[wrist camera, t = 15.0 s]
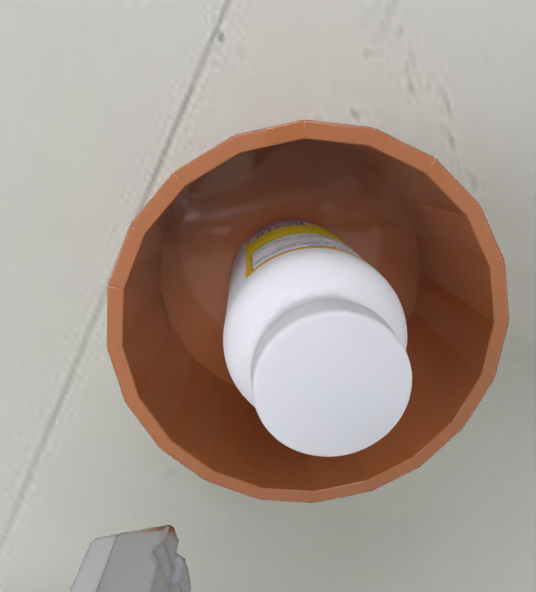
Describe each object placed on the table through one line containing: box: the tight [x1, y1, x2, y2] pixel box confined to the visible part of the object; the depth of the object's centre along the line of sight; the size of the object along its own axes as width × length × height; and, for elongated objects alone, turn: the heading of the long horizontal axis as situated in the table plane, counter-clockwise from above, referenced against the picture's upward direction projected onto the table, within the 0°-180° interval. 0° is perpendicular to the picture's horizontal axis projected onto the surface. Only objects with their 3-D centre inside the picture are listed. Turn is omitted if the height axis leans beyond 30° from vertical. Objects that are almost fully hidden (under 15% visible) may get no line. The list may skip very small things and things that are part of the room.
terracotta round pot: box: [107, 120, 509, 503], centre depth 23 cm, size 15×15×9 cm
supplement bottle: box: [223, 220, 412, 457], centre depth 20 cm, size 7×7×13 cm
